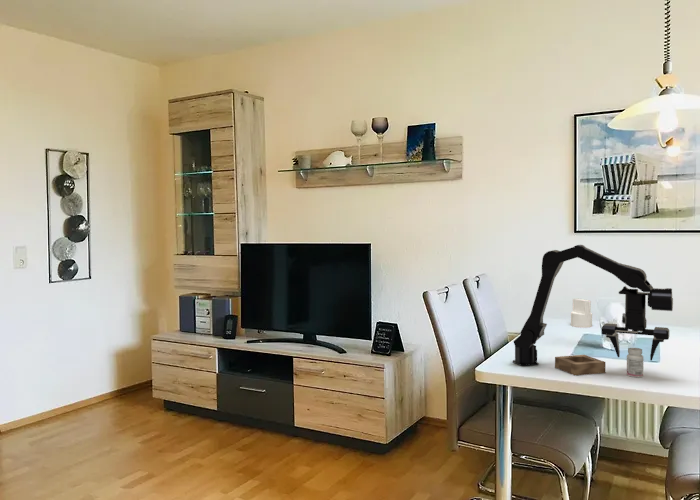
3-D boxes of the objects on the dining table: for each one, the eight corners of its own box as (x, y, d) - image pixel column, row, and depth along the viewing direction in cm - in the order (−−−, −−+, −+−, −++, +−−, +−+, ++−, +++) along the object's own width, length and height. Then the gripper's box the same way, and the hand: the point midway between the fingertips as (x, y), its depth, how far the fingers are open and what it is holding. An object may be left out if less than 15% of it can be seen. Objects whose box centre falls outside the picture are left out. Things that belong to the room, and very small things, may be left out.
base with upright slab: (566, 325, 278) (566, 299, 278) (583, 323, 281) (583, 298, 280) (579, 328, 270) (579, 301, 269) (596, 327, 272) (596, 300, 272)
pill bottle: (628, 372, 192) (629, 346, 192) (645, 375, 189) (645, 348, 189) (624, 376, 188) (624, 349, 188) (641, 378, 185) (641, 351, 185)
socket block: (575, 375, 190) (575, 364, 190) (555, 367, 201) (555, 356, 200) (605, 372, 193) (605, 362, 192) (584, 364, 203) (584, 354, 203)
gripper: (670, 307, 190) (670, 356, 191) (606, 303, 199) (606, 350, 200) (668, 312, 180) (667, 364, 181) (601, 308, 190) (601, 357, 191)
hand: (634, 358), depth 189 cm, fingers open, 9 cm apart
